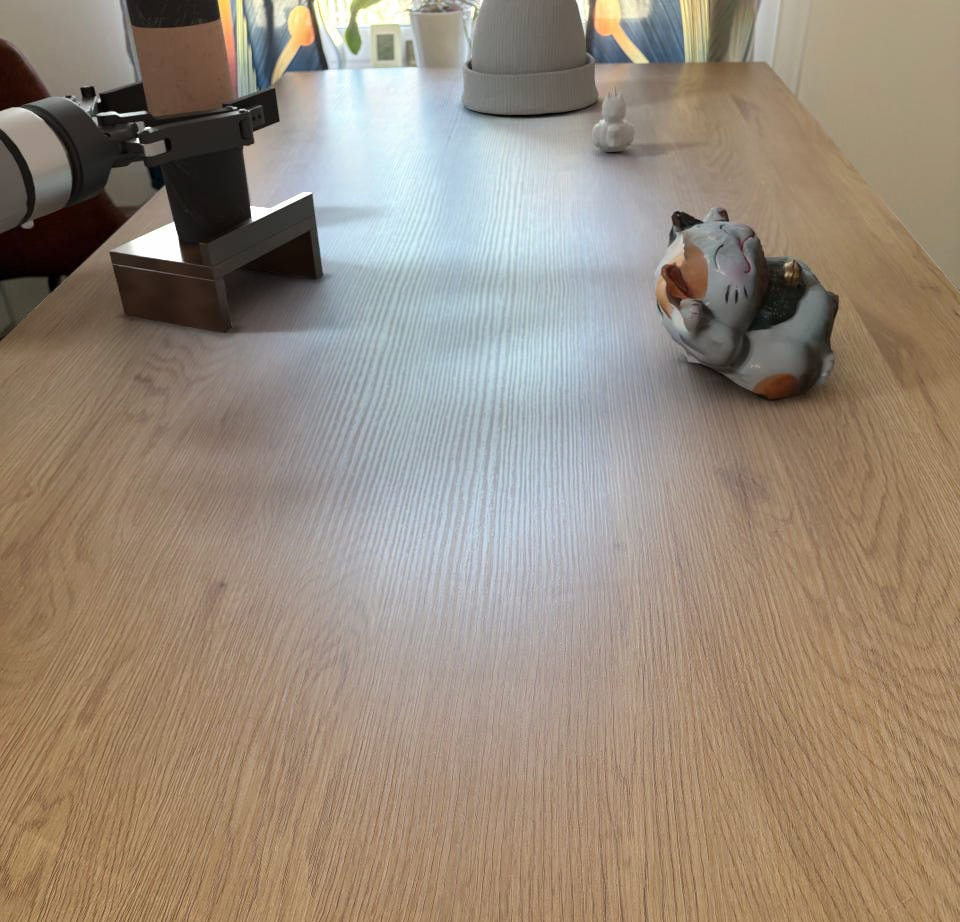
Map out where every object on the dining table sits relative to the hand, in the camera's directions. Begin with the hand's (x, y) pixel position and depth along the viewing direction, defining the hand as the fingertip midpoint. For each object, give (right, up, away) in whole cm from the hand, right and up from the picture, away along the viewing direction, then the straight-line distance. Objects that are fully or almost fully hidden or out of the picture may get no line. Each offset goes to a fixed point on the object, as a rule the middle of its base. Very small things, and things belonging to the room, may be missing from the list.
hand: (213, 99), depth 97 cm
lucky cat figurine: (+45, -27, -10) cm, 54 cm away
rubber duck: (+42, +15, +44) cm, 62 cm away
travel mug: (-1, -10, +5) cm, 11 cm away
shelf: (-1, -15, +8) cm, 17 cm away
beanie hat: (+32, +34, +69) cm, 83 cm away
